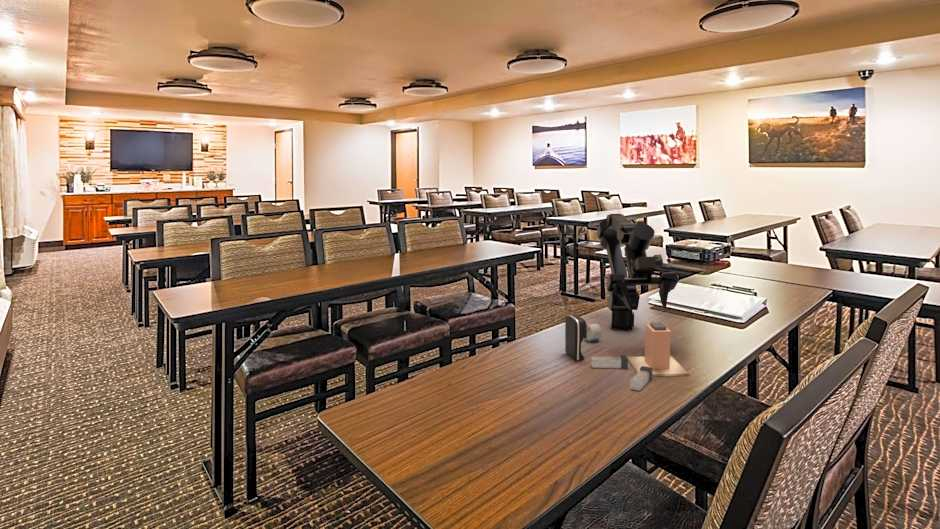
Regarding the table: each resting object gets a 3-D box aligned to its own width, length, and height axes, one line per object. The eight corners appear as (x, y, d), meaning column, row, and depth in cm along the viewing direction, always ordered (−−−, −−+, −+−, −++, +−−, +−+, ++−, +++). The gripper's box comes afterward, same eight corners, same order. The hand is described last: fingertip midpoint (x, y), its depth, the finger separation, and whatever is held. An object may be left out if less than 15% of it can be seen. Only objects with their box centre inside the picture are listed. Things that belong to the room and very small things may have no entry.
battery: (588, 360, 142) (588, 319, 140) (575, 361, 142) (575, 321, 139) (577, 351, 149) (577, 312, 147) (564, 353, 148) (564, 314, 146)
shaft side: (625, 364, 138) (625, 355, 138) (627, 368, 136) (627, 359, 135) (590, 364, 139) (591, 355, 139) (592, 368, 137) (592, 358, 136)
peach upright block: (644, 360, 139) (645, 321, 137) (661, 360, 139) (662, 321, 137) (651, 369, 133) (653, 328, 131) (669, 369, 133) (671, 328, 131)
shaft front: (641, 375, 131) (642, 365, 131) (652, 378, 130) (652, 368, 129) (629, 388, 124) (629, 378, 124) (640, 391, 123) (640, 380, 122)
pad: (639, 376, 131) (640, 374, 131) (626, 359, 142) (626, 356, 142) (688, 375, 130) (688, 373, 130) (671, 358, 142) (671, 355, 142)
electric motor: (577, 338, 160) (577, 322, 159) (591, 336, 162) (591, 320, 161) (589, 345, 154) (589, 329, 153) (603, 343, 155) (603, 327, 154)
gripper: (609, 245, 144) (619, 294, 136) (678, 243, 144) (692, 292, 135) (602, 267, 154) (610, 314, 145) (666, 265, 153) (679, 313, 145)
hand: (647, 308), depth 142 cm, fingers open, 9 cm apart
